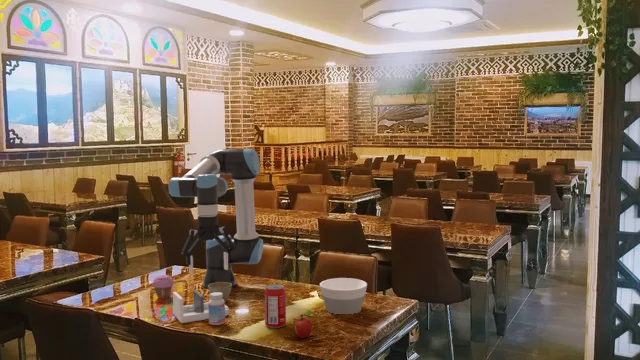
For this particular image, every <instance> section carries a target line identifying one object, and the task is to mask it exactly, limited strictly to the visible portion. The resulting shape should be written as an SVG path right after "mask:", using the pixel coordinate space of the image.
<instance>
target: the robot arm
mask: <svg viewBox="0 0 640 360" xmlns="http://www.w3.org/2000/svg"><path fill="white" fill-rule="evenodd" d="M260 173H261V163H260V157H259V155H258V152H257V151H256V150H255V149H253V148H220V149H217V150H214V151H212V152H210V153H208V154H205V155H204V156H203V157H201V159H200V160H199V162H198V164H197V165H195V166H194V167H193V168H192V169H190V170H189V171H188V172H186V173H185V174H184V175H183V176H181V177H172V178H170V179H169V182H168V186H167V187H168V192H169V194H170V196H171V197H176V198H177V197H178V198H197V199H196V201H197V202H196V203H197V204H196V206H197V207H196V208H197V215H198V216H197V229H192V228H190V229H189V230H188V231H189V232H188V236H187V238H186V241H185V243H184V245H183V247H182V249H181V252H180V254H181V255H182V256H183V257H185V258H186V259H185V261H186V265H187V266H188V274H190V275H194V256H193V254H194V252H195V251H196V250H197V248H198V247H199V246H200V244H201V243H202V242H203V241H205V242H206V243H205V258H206V270H205V274H204V277H203V282H202V286H203V287H204V288H205V289H208V285H209V284H212V283H217V282H227V283H231V284H232V287H235V286H236V277H235V275H234V271H233V269H232V267H233V266H232V264H234V265H235V264H236V265H238V264H239V265H240V264H241V265H257V264H258V263H259V262H260V261H261V259H262V256H263V251H264V239H262V238H260V235H259V233H258V232H257V231H256V215H255V195H254V194H255V193H254V191H255V189H254V181H256V179H257V175H259V174H260ZM218 175H230V180H231V181H232V182H233V183H234V200H235V201H234V202H235V217H236V218H235V221H236V233H235V234H234V235H233V238H232V236H231V235H230V234H228V230H227V227H226V226H221V227H219V217H218V214H219V208H218V199H219V198H221V197H222V196H224V195H225V194H226V193H227V191H228V189H229V188H228V187H229V186H228V185H229V184H228V182H227V180H226V179H225V178H223V177H219V176H218ZM219 233H221V234H222V235H218V234H219ZM196 234H197V235H198V236H197V238H196V239H195V241H194V242H193V239H194V237H195V236H196ZM191 244H192V245H191Z"/></svg>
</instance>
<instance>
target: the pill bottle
mask: <svg viewBox="0 0 640 360" xmlns="http://www.w3.org/2000/svg"><path fill="white" fill-rule="evenodd" d="M222 297H223V294H222V293H220V292H215V293H211V294H210V293H209V298H210V299H209V300H208V307H209V319H208V324H209V325H212V326H220V325H223V324H225V323H226V316H225V305H226V304H225V303H226V302H225V301H224V300H223V299H222Z"/></svg>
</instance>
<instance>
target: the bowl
mask: <svg viewBox="0 0 640 360" xmlns="http://www.w3.org/2000/svg"><path fill="white" fill-rule="evenodd" d="M367 286H368V283H367V282H366V281H364V280H361V279H359V278H352V277H351V278H350V277H349V278H347V277H337V278H336V277H334V278H328V279H326V280H323V281H321V282H319V288H320V291H321V296H322V298H323V304H324V307H325V310H327V311H328V313H329V312H330V313H329V314H331V313H334V314H333V315H336V314H352V315H355V314H354V313H356V314H358V313H357V312H359V313H360V312H361V311H362V307H363V303H364V299H365V296H366V291H367V288H368V287H367ZM327 311H326V312H327Z"/></svg>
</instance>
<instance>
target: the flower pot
mask: <svg viewBox="0 0 640 360" xmlns="http://www.w3.org/2000/svg"><path fill="white" fill-rule="evenodd" d="M232 287H233V286H232V284H231V283H227V282H217V283H212V284H209V285H208V288H207V289H208V292H209V295H210V294H211V293H215V292H220V293H222V294H223V297H222V299H223V300H224V301H225V303H226V302H227V300H228V299H229V296H230V294H231V291H232Z"/></svg>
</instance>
